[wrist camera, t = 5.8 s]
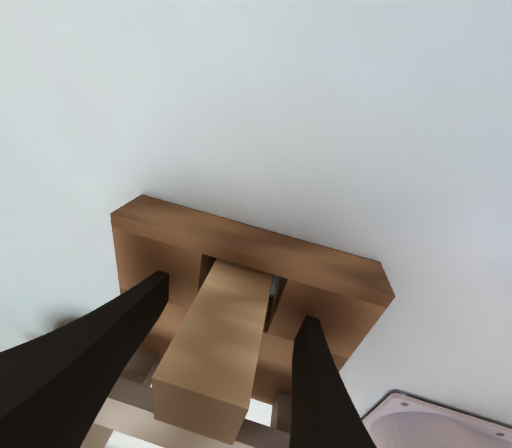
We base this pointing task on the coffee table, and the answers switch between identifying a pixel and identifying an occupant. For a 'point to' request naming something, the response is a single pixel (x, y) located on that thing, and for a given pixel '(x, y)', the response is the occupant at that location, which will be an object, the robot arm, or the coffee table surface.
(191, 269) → the socket block
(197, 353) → the peg
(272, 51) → the coffee table surface
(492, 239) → the coffee table surface
